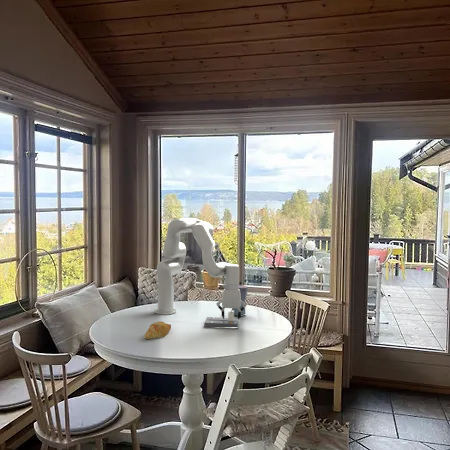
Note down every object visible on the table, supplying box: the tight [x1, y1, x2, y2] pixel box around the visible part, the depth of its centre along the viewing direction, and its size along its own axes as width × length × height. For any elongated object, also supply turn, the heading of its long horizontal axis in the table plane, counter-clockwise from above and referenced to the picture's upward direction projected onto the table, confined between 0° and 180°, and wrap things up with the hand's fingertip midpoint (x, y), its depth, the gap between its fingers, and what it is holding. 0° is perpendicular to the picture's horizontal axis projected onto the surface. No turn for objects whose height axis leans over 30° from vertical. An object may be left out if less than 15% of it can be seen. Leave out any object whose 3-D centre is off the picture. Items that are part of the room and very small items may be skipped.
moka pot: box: [231, 281, 249, 315], centre depth 275 cm, size 10×15×20 cm, turn 148°
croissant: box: [143, 321, 172, 340], centre depth 232 cm, size 21×10×8 cm, turn 153°
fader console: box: [203, 316, 240, 328], centre depth 253 cm, size 12×18×3 cm, turn 86°
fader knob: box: [227, 309, 235, 322], centre depth 253 cm, size 4×3×7 cm
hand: (231, 318), depth 253 cm, fingers open, 8 cm apart
